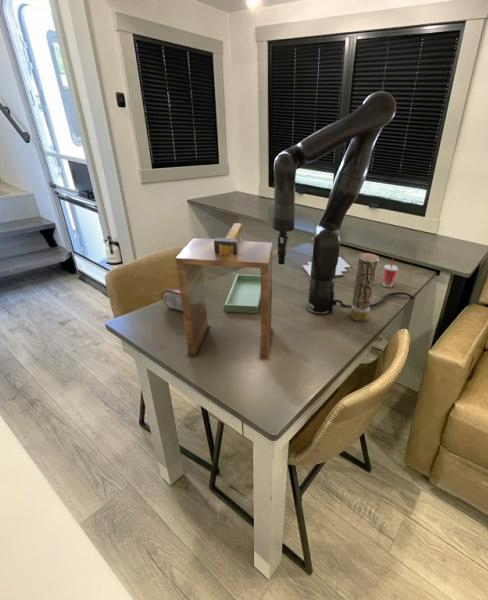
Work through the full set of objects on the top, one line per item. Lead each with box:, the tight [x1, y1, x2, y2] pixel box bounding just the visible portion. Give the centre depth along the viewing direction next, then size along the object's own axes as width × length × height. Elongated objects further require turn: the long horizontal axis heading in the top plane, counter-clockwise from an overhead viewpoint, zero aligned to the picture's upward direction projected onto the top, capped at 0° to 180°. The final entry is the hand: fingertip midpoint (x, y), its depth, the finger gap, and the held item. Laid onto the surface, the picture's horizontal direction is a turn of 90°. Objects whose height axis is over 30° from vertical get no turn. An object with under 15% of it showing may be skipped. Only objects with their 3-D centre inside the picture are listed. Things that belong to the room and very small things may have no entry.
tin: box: [161, 286, 183, 313], centre depth 121 cm, size 15×3×8 cm, turn 71°
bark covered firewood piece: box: [349, 252, 380, 322], centre depth 121 cm, size 7×7×25 cm
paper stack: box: [302, 256, 351, 277], centre depth 167 cm, size 23×25×1 cm
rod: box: [220, 222, 243, 255], centre depth 98 cm, size 2×22×2 cm, turn 1°
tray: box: [224, 273, 261, 314], centre depth 136 cm, size 27×12×3 cm, turn 1°
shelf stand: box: [175, 237, 274, 360], centre depth 100 cm, size 24×16×36 cm, turn 91°
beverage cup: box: [382, 256, 399, 288], centre depth 150 cm, size 6×6×14 cm
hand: (282, 259), depth 121 cm, fingers open, 8 cm apart
